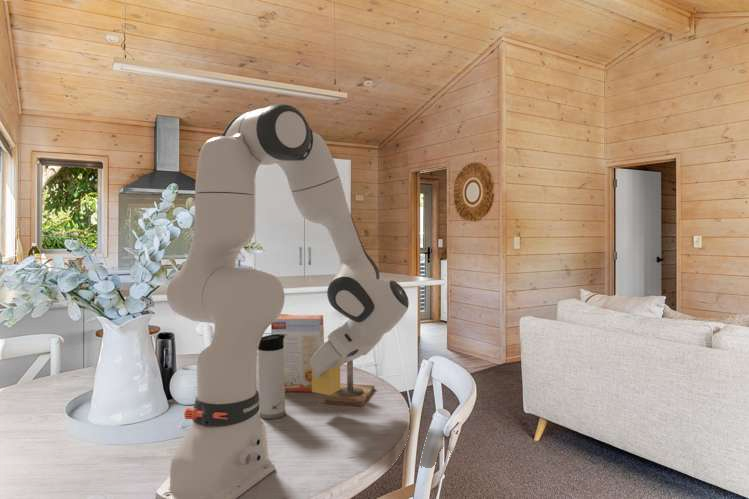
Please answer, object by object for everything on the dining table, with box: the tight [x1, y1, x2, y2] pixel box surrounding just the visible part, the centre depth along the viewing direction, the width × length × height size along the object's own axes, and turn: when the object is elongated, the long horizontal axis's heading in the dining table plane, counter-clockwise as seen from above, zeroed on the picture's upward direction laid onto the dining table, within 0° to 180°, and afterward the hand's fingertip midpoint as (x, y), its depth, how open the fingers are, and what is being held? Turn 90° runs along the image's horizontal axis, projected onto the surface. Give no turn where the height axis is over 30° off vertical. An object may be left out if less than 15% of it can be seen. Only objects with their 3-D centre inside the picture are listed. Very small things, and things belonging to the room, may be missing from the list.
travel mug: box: [257, 334, 286, 420], centre depth 129 cm, size 6×7×20 cm
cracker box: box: [270, 314, 325, 393], centre depth 148 cm, size 14×6×21 cm, turn 84°
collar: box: [312, 365, 341, 396], centre depth 129 cm, size 5×5×8 cm
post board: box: [324, 360, 375, 407], centre depth 142 cm, size 14×10×11 cm
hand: (323, 372), depth 129 cm, fingers closed on collar, 5 cm apart
